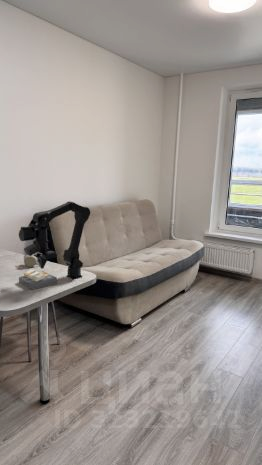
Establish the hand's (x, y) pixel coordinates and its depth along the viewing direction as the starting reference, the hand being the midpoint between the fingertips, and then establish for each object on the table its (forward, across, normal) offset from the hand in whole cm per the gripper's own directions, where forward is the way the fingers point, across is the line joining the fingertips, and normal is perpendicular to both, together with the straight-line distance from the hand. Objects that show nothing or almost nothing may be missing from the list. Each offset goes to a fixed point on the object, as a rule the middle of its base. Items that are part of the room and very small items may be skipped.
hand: (42, 268), depth 162 cm
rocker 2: (+4, -4, -2) cm, 7 cm away
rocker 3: (+4, 0, -2) cm, 5 cm away
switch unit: (+9, -4, 0) cm, 10 cm away
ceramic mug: (+9, -33, +13) cm, 36 cm away
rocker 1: (+4, -9, -2) cm, 10 cm away
